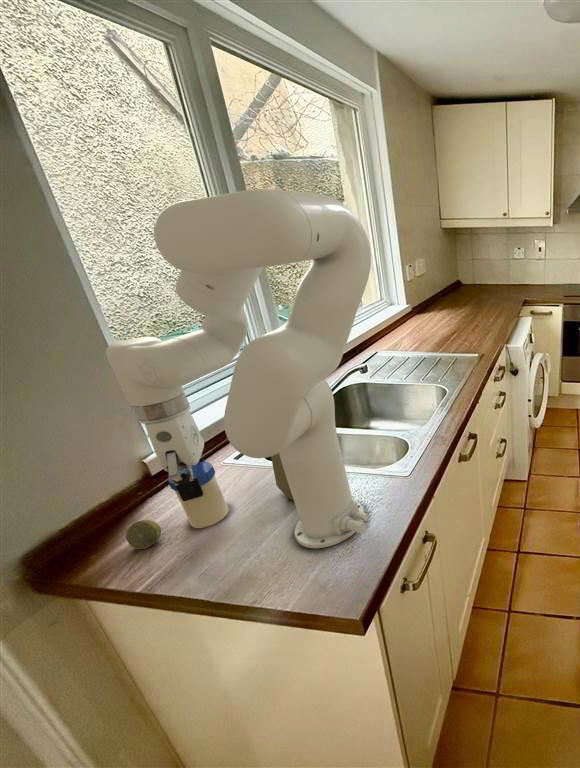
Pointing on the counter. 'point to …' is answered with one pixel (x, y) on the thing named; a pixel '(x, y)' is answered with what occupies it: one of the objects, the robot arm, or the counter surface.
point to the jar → (205, 506)
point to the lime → (143, 534)
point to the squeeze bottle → (281, 476)
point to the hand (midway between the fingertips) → (196, 486)
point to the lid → (198, 473)
